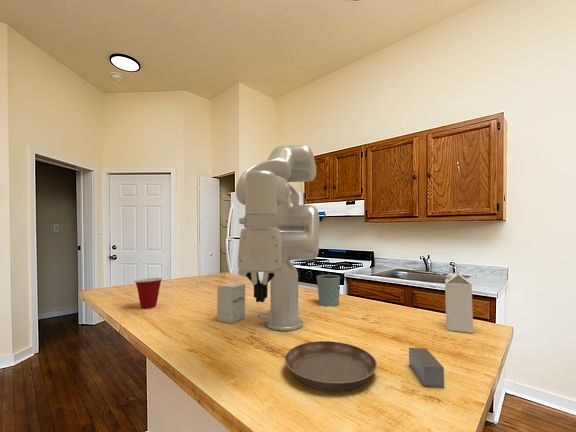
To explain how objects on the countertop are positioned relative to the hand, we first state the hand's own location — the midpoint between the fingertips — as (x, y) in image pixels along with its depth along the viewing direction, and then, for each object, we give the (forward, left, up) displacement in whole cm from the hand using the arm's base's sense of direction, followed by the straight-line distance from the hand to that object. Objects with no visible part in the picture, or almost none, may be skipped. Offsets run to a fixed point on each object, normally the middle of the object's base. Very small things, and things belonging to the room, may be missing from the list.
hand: (260, 300), depth 70 cm
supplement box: (-18, +37, -16) cm, 45 cm away
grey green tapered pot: (+18, +62, -16) cm, 67 cm away
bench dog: (+37, 0, -16) cm, 40 cm away
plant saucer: (+16, 0, -16) cm, 23 cm away
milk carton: (+59, +33, -16) cm, 70 cm away
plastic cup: (-58, +51, -16) cm, 79 cm away
